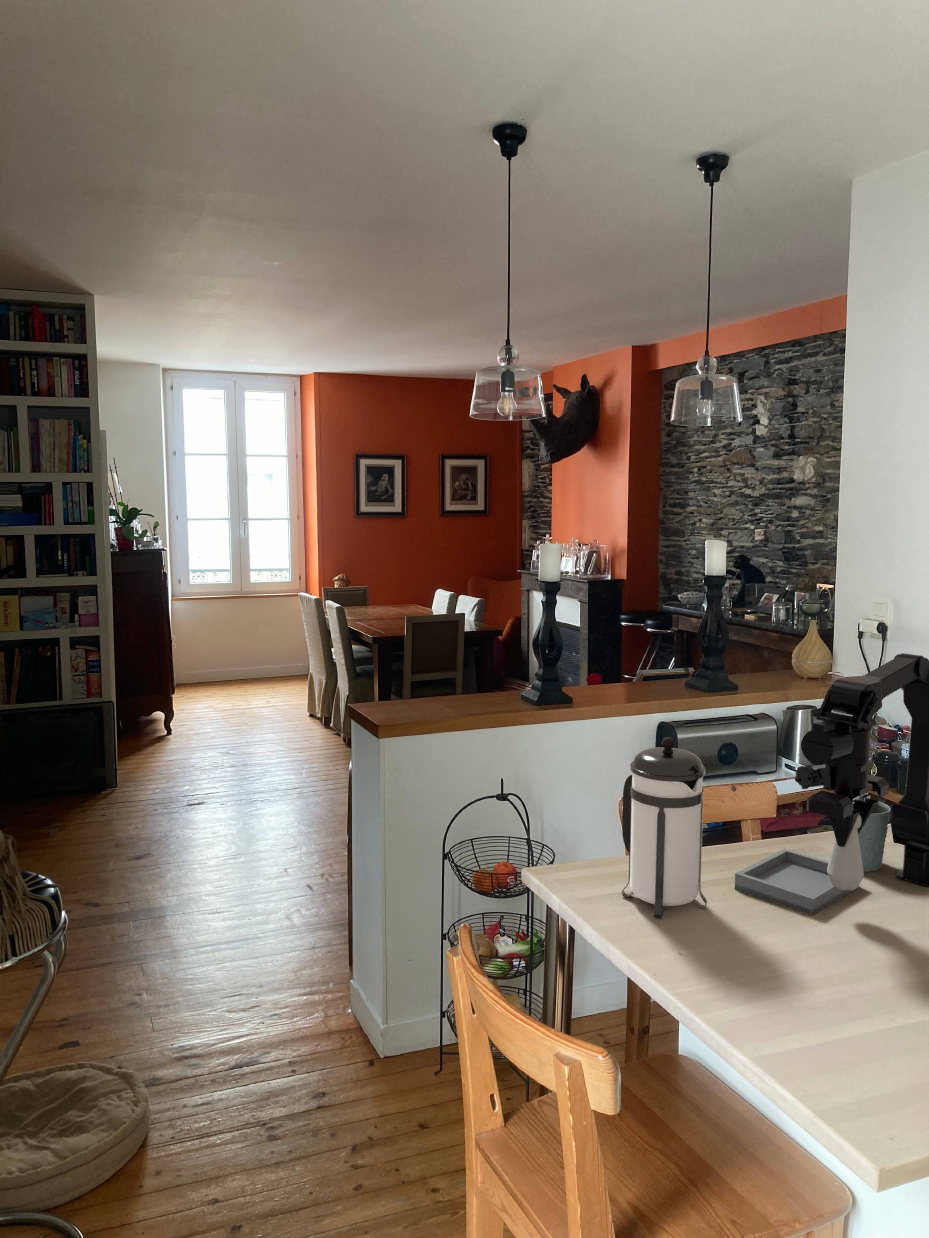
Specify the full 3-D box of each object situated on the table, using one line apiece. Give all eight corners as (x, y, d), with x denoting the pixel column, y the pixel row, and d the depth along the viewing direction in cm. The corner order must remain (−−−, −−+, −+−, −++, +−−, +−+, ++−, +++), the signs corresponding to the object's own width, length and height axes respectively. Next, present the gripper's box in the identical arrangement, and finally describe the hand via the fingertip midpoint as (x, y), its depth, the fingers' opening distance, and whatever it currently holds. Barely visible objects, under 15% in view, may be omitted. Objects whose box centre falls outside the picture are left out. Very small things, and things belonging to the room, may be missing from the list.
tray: (783, 863, 180) (784, 848, 179) (859, 886, 169) (860, 870, 168) (734, 888, 168) (735, 873, 167) (812, 915, 157) (813, 899, 156)
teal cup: (825, 852, 185) (828, 795, 184) (878, 854, 184) (881, 797, 183) (839, 871, 176) (842, 811, 174) (894, 874, 174) (898, 814, 173)
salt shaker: (866, 893, 153) (870, 819, 152) (830, 891, 154) (833, 817, 153) (858, 879, 159) (861, 807, 157) (823, 877, 160) (826, 805, 158)
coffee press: (714, 890, 167) (720, 730, 163) (698, 926, 153) (703, 752, 149) (622, 874, 174) (625, 721, 171) (598, 907, 160) (601, 741, 156)
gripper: (829, 735, 166) (825, 818, 168) (778, 755, 153) (775, 845, 155) (892, 747, 158) (887, 834, 160) (844, 769, 145) (839, 863, 147)
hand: (846, 843), depth 156 cm, fingers closed on salt shaker, 4 cm apart
